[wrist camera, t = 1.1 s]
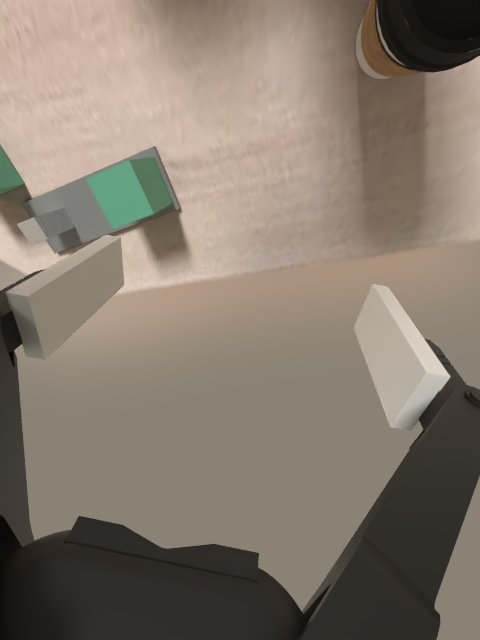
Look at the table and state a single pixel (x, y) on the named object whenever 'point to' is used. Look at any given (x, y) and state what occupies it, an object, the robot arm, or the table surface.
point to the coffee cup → (417, 36)
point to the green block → (8, 174)
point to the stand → (109, 199)
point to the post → (46, 226)
